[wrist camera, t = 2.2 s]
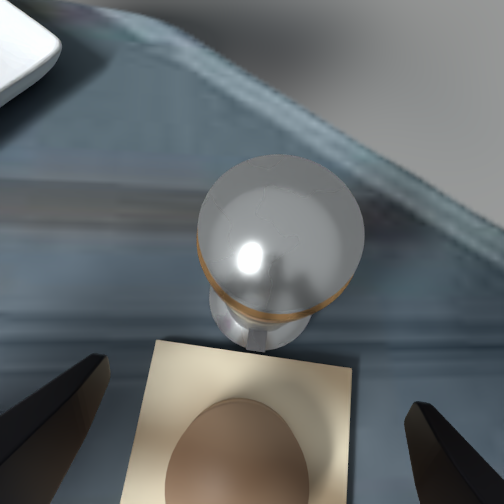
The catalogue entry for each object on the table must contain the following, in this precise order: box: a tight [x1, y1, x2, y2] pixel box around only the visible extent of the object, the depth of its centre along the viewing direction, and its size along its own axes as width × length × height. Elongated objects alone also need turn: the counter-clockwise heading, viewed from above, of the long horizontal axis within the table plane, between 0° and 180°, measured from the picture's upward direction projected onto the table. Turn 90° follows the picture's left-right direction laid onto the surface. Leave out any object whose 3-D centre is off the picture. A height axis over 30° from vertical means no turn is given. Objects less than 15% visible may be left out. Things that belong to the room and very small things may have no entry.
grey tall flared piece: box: [197, 154, 365, 352], centre depth 15 cm, size 7×6×13 cm
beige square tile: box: [120, 340, 352, 504], centre depth 17 cm, size 12×12×3 cm
